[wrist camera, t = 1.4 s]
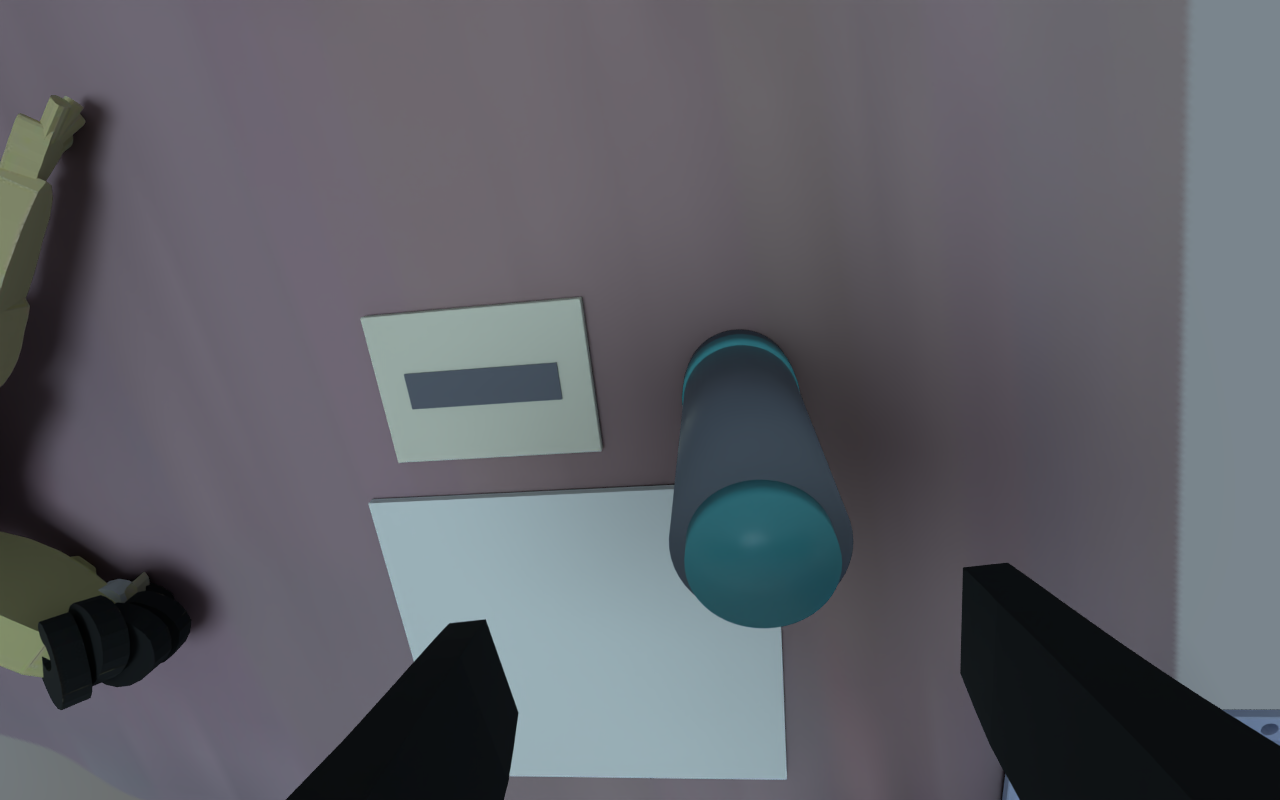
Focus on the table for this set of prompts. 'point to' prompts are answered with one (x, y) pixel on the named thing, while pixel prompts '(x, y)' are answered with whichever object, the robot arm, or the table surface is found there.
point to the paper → (591, 632)
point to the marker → (753, 489)
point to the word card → (486, 380)
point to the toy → (23, 568)
